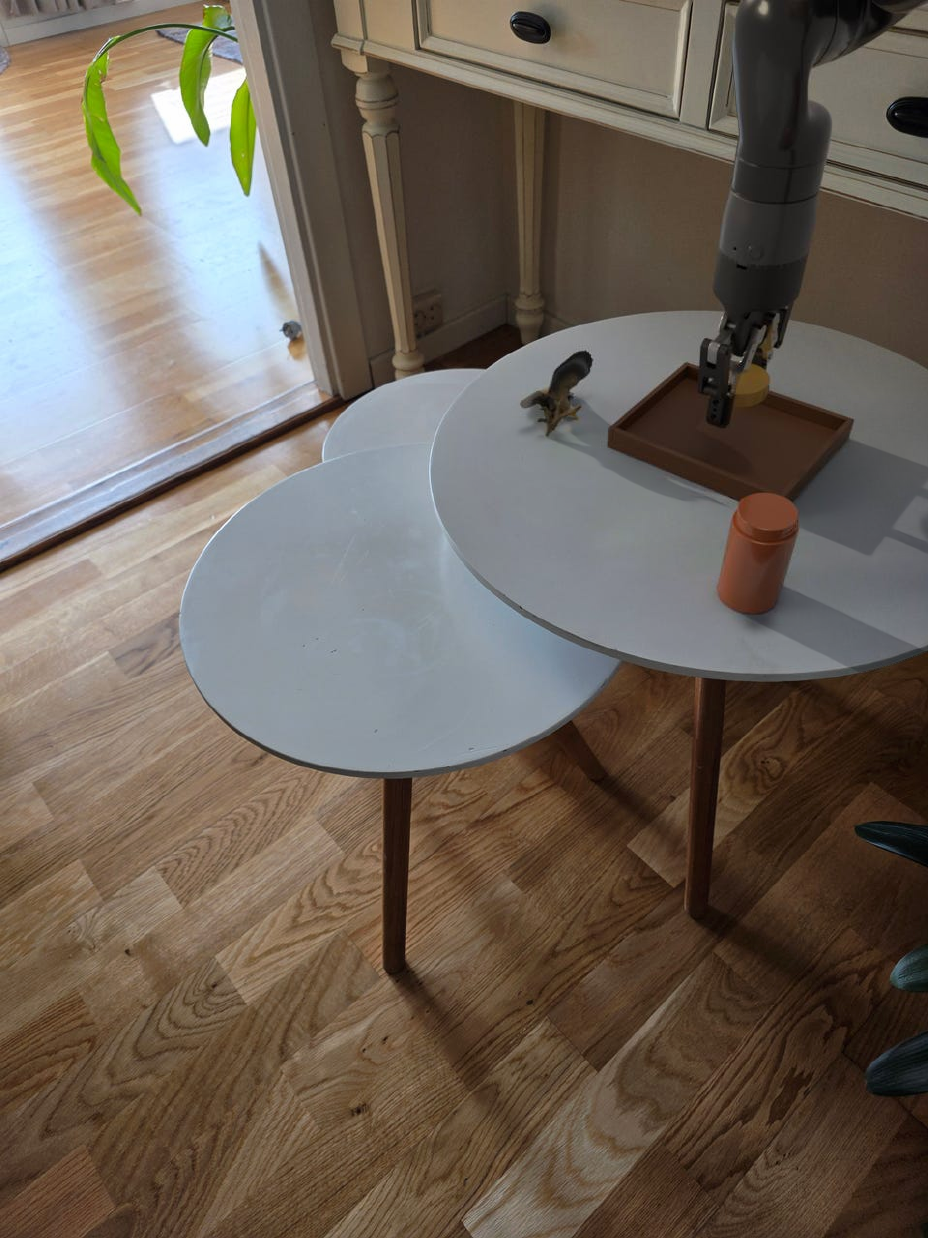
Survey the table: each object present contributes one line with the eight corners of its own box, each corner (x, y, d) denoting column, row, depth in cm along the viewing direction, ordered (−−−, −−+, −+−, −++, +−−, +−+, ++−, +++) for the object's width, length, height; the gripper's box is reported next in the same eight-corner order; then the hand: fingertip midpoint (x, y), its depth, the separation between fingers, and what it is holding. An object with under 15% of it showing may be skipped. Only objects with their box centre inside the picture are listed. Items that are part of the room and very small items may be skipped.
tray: (848, 437, 89) (854, 418, 87) (778, 517, 81) (783, 498, 80) (683, 379, 98) (685, 361, 96) (606, 446, 90) (608, 427, 89)
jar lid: (691, 388, 86) (693, 375, 85) (734, 367, 88) (737, 353, 87) (736, 415, 82) (739, 401, 81) (780, 392, 84) (783, 378, 83)
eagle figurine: (601, 431, 90) (608, 371, 95) (564, 386, 86) (573, 325, 90) (541, 455, 95) (550, 397, 99) (502, 414, 91) (514, 354, 95)
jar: (790, 588, 75) (814, 506, 68) (761, 623, 73) (783, 542, 66) (735, 563, 78) (753, 481, 71) (705, 596, 75) (721, 515, 68)
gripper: (764, 201, 80) (734, 365, 92) (681, 263, 73) (661, 431, 85) (843, 220, 76) (801, 387, 88) (764, 286, 69) (731, 458, 81)
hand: (733, 408), depth 87 cm, fingers closed on jar lid, 5 cm apart
